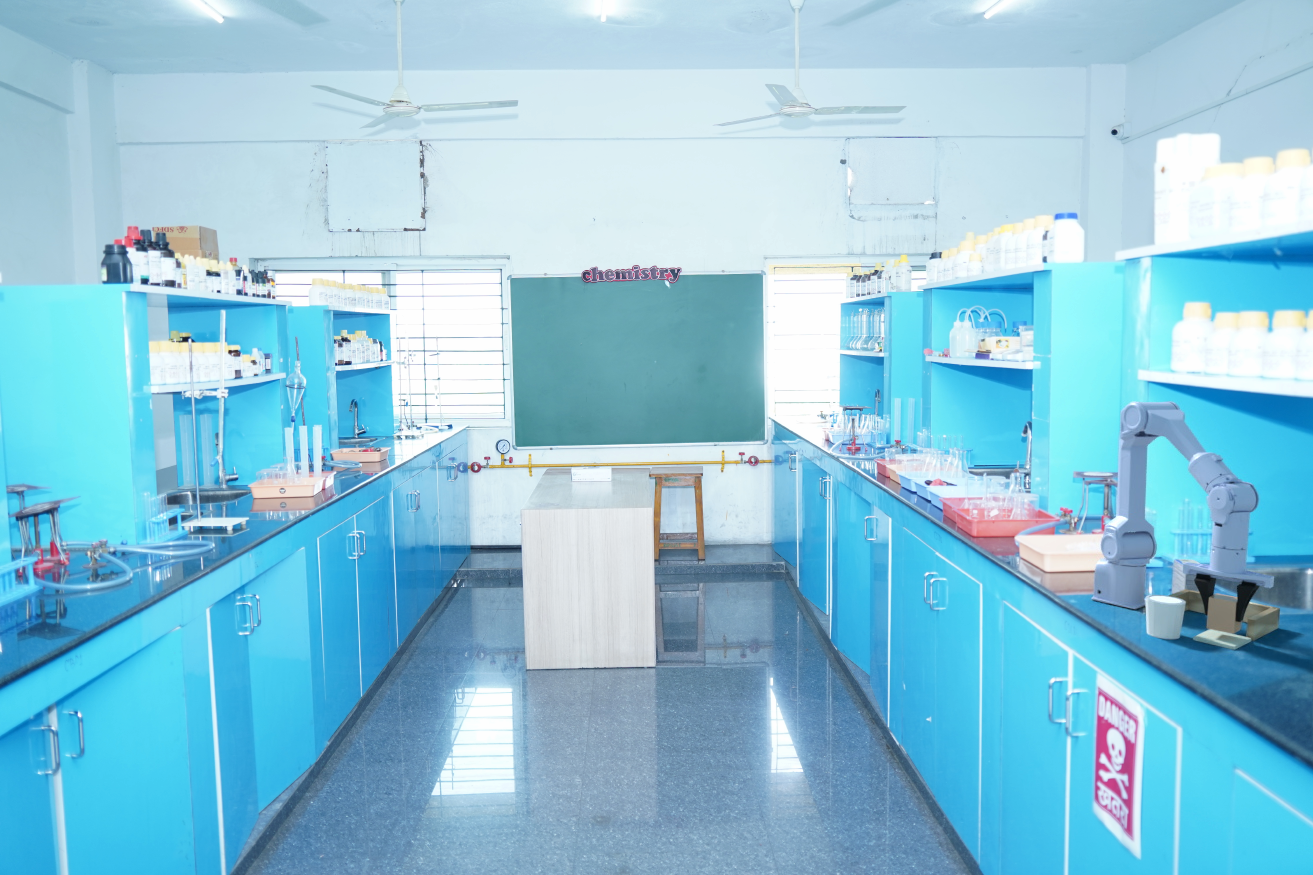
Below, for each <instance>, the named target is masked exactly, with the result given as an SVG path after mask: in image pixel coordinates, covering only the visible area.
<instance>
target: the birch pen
mask: <svg viewBox="0 0 1313 875" xmlns="http://www.w3.org/2000/svg"><path fill="white" fill-rule="evenodd" d="M1168 596H1171V597H1176V598H1179V599H1182V600H1184V601H1186V604H1185V610H1184V612H1186V611H1192V612H1196V613H1201V614H1205V610H1204V605H1203V601H1202V598H1201V595H1200V593H1199V592H1197V591H1193V590H1188V589H1184V590H1182V591H1179V592H1176V593H1174V594H1172V593H1171V594H1169V595H1168ZM1280 613H1281V607H1276V606H1272V605H1267V604H1261V603H1256V602H1252V601H1250V602H1249V604H1248V606H1247V609H1246V611H1245V614H1244V618H1243V621H1242V622H1241V623H1247V624H1246V636H1245V637H1249V638H1251V641H1250V642H1254V641H1256V640H1258V639H1259V638H1262V637H1264V636H1266V635H1267V634H1270V633H1271V632H1274V631H1275V630H1277V629H1279V627H1280V625H1279V624H1280Z"/></svg>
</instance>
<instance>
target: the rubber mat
mask: <svg viewBox="0 0 1313 875" xmlns="http://www.w3.org/2000/svg"><path fill="white" fill-rule="evenodd" d="M1192 640H1193V641H1196V642H1200V643H1204V644H1209V645H1213V646H1217V647H1222V648H1225V649H1230V650H1234V651H1235V650H1237V649H1238V648H1241V647H1242V646H1245V645H1246V644H1247V645H1248V643H1251V642H1252V641H1251V638H1249V637H1246V636H1243V635H1239V634H1236V633H1234V634H1232V633H1227V632H1222V631H1217V630H1212V629H1207V630H1206V631H1203V632H1200V633H1199V634H1197V635H1194V636H1193V639H1192Z"/></svg>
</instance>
